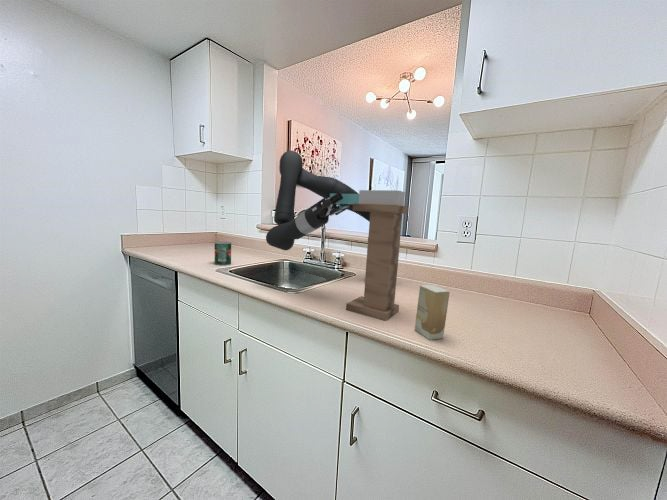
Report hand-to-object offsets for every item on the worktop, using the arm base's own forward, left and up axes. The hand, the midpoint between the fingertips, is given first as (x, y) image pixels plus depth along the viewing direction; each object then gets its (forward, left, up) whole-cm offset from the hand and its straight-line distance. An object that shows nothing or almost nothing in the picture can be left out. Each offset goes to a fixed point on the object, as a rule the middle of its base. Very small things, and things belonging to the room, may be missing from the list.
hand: (348, 196), depth 86 cm
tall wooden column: (0, +11, -34) cm, 36 cm away
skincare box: (+6, +29, -35) cm, 46 cm away
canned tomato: (-10, -77, -35) cm, 85 cm away
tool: (0, +5, -2) cm, 6 cm away
